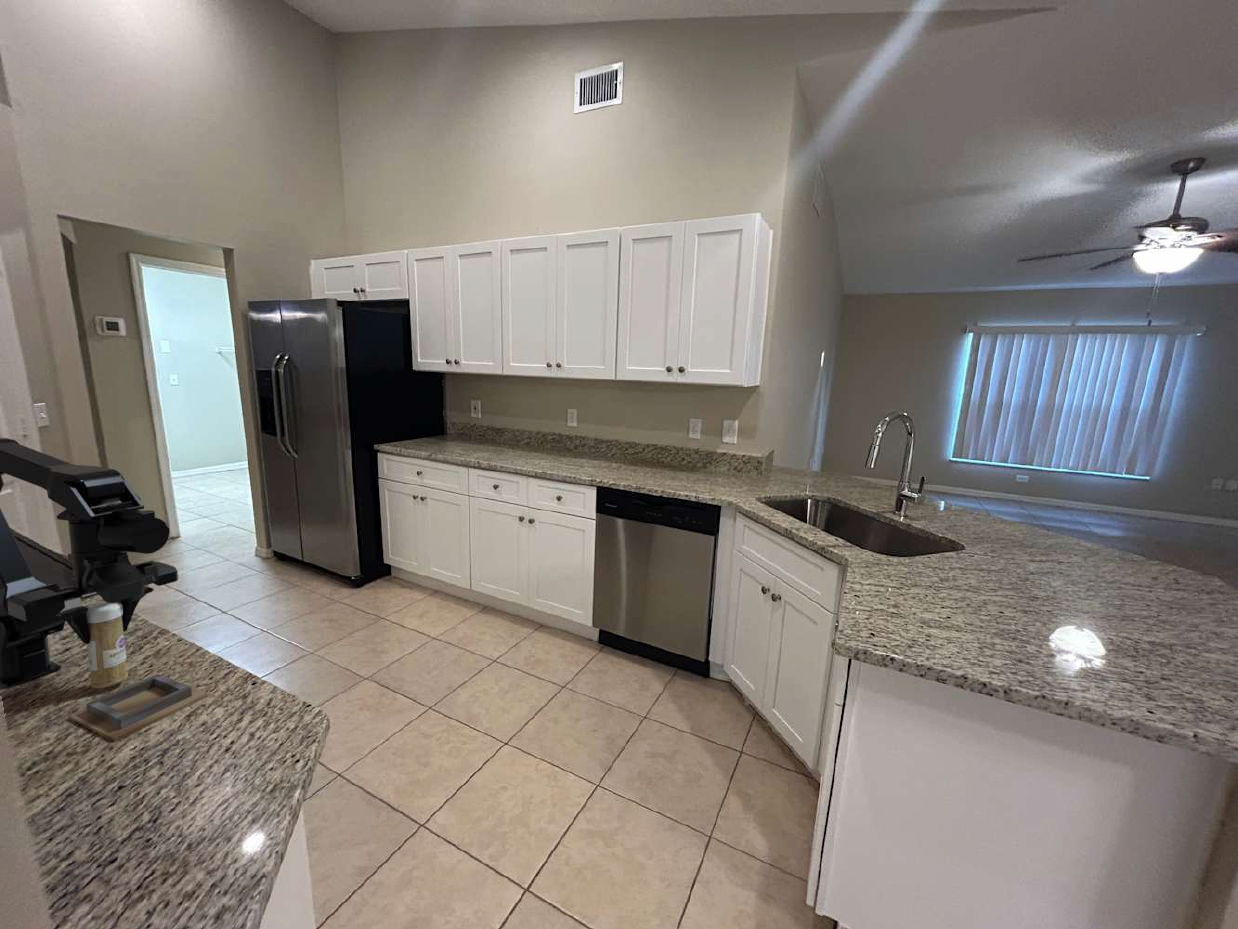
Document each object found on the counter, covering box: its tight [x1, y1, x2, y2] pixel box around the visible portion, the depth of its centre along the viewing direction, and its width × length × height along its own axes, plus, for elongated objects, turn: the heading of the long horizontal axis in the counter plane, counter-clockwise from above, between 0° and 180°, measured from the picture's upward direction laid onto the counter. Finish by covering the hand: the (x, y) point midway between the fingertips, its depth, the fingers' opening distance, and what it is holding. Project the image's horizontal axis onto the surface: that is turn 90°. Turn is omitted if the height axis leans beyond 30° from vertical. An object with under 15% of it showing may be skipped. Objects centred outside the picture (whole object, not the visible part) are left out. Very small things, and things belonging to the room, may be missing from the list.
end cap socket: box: [68, 673, 209, 743], centre depth 79 cm, size 12×12×2 cm
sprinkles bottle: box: [86, 602, 129, 689], centre depth 82 cm, size 5×5×14 cm
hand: (105, 637), depth 82 cm, fingers closed on sprinkles bottle, 4 cm apart
